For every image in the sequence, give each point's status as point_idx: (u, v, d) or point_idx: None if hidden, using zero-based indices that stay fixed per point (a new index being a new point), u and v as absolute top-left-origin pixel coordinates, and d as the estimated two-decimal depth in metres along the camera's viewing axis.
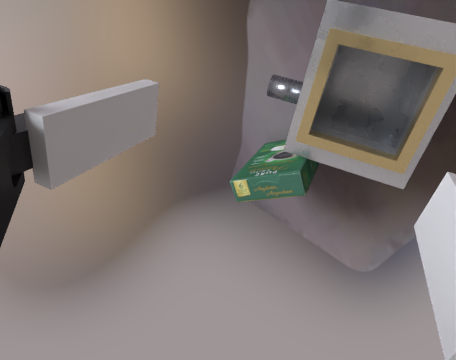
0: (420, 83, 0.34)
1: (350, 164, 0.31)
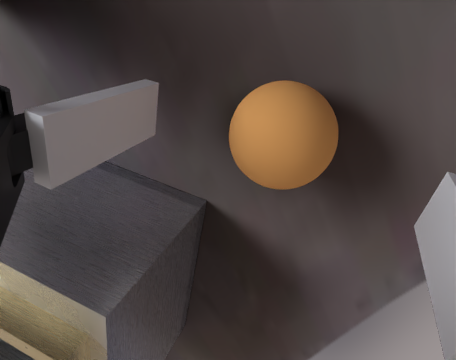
0: None
1: None
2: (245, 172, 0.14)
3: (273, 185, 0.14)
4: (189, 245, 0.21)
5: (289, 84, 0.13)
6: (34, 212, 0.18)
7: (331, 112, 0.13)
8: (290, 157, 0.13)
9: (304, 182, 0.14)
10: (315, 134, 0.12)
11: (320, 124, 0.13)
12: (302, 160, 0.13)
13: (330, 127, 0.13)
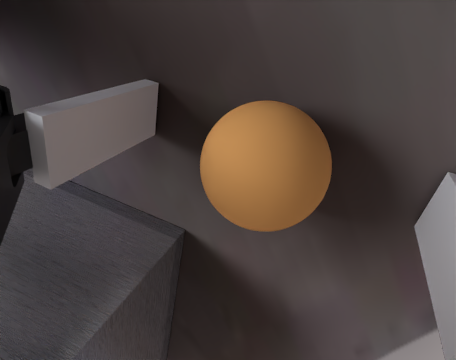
0: None
1: None
2: (219, 211, 0.12)
3: (252, 228, 0.11)
4: (164, 281, 0.19)
5: (271, 106, 0.11)
6: None
7: (322, 141, 0.11)
8: (270, 198, 0.10)
9: (290, 225, 0.11)
10: (302, 170, 0.10)
11: (308, 157, 0.10)
12: (286, 202, 0.10)
13: (321, 160, 0.10)
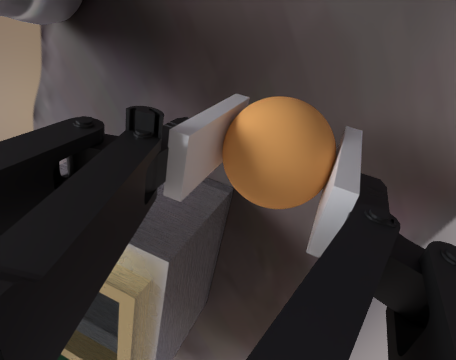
0: None
1: None
2: (238, 191, 0.14)
3: (267, 205, 0.13)
4: (219, 224, 0.25)
5: (285, 100, 0.13)
6: None
7: (328, 130, 0.13)
8: (285, 177, 0.12)
9: (300, 202, 0.13)
10: (311, 153, 0.12)
11: (316, 143, 0.12)
12: (297, 180, 0.12)
13: (327, 146, 0.12)
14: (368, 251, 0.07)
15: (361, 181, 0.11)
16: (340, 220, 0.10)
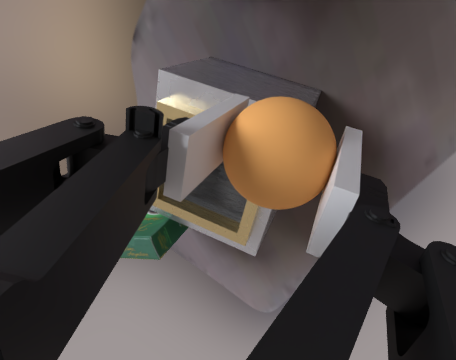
0: None
1: None
2: (239, 191, 0.14)
3: (268, 205, 0.13)
4: None
5: (285, 101, 0.13)
6: (225, 79, 0.27)
7: (329, 130, 0.13)
8: (285, 177, 0.12)
9: (300, 203, 0.13)
10: (312, 154, 0.12)
11: (317, 143, 0.12)
12: (298, 181, 0.12)
13: (328, 146, 0.12)
14: (368, 251, 0.07)
15: (361, 181, 0.11)
16: (340, 220, 0.10)
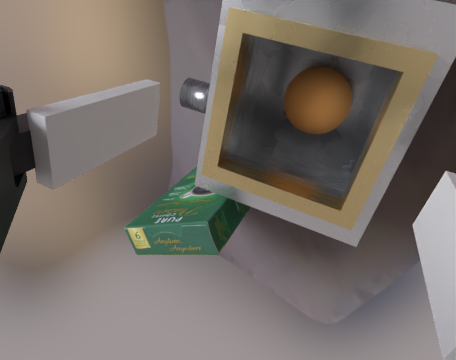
0: (387, 91, 0.24)
1: (282, 208, 0.22)
2: (298, 123, 0.23)
3: (316, 129, 0.23)
4: None
5: (324, 68, 0.23)
6: None
7: (348, 84, 0.23)
8: (329, 109, 0.22)
9: (334, 127, 0.23)
10: (342, 96, 0.22)
11: (345, 90, 0.22)
12: (336, 111, 0.22)
13: (349, 92, 0.22)
14: None
15: None
16: None
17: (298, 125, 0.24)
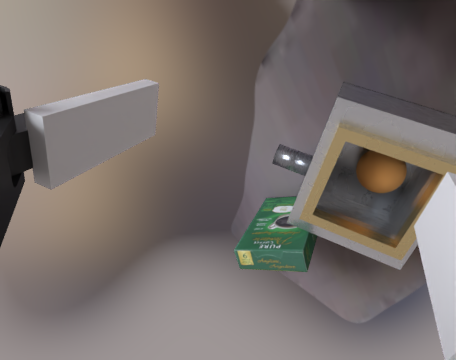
0: None
1: (350, 242, 0.32)
2: (376, 189, 0.34)
3: None
4: None
5: None
6: (387, 105, 0.29)
7: None
8: (400, 181, 0.33)
9: None
10: (406, 170, 0.33)
11: None
12: (402, 181, 0.33)
13: (405, 166, 0.34)
14: None
15: None
16: None
17: (375, 190, 0.34)
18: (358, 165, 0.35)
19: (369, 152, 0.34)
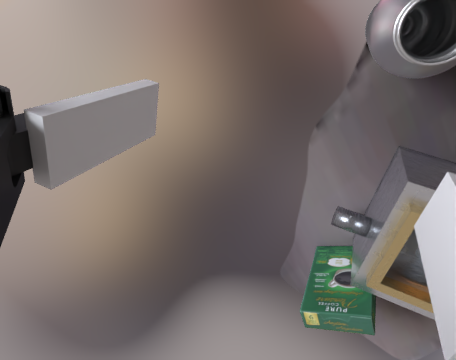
0: None
1: (415, 305, 0.34)
2: None
3: None
4: None
5: None
6: None
7: None
8: None
9: None
10: None
11: None
12: None
13: None
14: None
15: None
16: None
17: None
18: None
19: None
